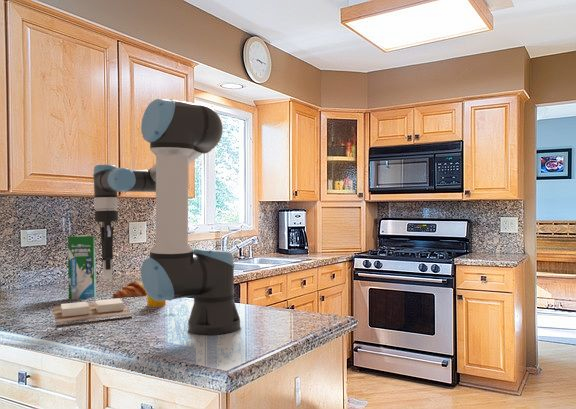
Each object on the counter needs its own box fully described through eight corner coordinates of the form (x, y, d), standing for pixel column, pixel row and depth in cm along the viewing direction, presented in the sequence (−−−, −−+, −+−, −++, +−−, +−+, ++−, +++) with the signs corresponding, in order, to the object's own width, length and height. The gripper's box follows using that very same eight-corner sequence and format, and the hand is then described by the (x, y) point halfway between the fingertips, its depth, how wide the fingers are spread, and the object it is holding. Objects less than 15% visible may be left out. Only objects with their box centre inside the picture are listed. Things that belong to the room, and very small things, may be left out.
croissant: (158, 301, 199) (154, 283, 202) (171, 292, 193) (165, 274, 196) (110, 308, 184) (105, 289, 186) (122, 299, 178) (117, 279, 180)
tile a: (87, 309, 162) (89, 314, 154) (60, 311, 158) (62, 317, 150) (86, 301, 162) (89, 306, 154) (60, 304, 158) (62, 309, 150)
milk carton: (95, 296, 193) (95, 234, 193) (94, 300, 185) (93, 235, 185) (71, 297, 191) (70, 235, 190) (68, 302, 182) (67, 236, 182)
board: (132, 318, 154) (132, 314, 154) (56, 327, 144) (56, 322, 144) (119, 304, 177) (119, 300, 177) (53, 311, 167) (53, 306, 167)
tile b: (119, 305, 167) (123, 310, 159) (94, 308, 163) (97, 313, 155) (119, 298, 167) (123, 302, 159) (94, 300, 163) (97, 305, 155)
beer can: (160, 311, 164) (160, 267, 164) (144, 310, 165) (143, 267, 165) (168, 307, 170) (167, 265, 170) (152, 307, 171) (152, 265, 171)
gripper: (120, 209, 160) (122, 280, 160) (114, 210, 172) (116, 275, 172) (96, 210, 157) (98, 282, 157) (92, 210, 168) (93, 277, 168)
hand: (107, 278), depth 164 cm, fingers closed
